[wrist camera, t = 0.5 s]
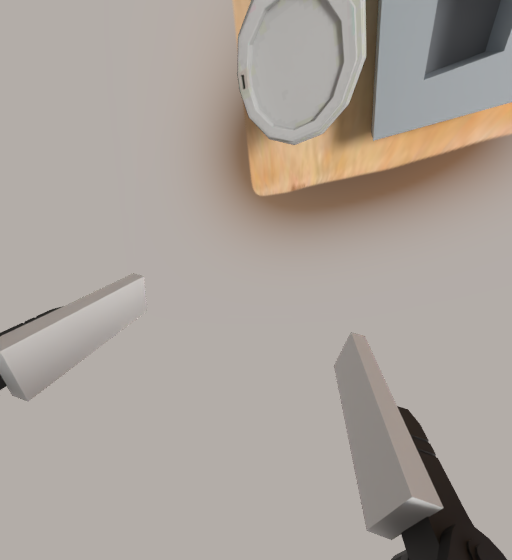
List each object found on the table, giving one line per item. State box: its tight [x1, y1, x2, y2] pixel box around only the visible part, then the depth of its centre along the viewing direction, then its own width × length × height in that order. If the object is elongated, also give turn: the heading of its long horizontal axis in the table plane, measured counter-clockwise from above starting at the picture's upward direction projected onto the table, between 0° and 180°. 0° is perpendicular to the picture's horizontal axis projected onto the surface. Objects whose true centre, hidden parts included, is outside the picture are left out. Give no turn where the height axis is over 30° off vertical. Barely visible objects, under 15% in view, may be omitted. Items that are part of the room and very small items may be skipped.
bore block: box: [371, 0, 512, 141], centre depth 18 cm, size 14×14×4 cm
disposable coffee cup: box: [237, 0, 366, 145], centre depth 20 cm, size 11×11×15 cm
